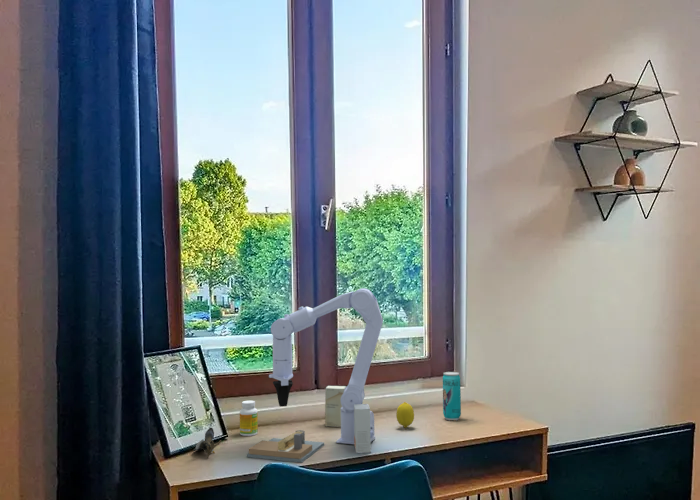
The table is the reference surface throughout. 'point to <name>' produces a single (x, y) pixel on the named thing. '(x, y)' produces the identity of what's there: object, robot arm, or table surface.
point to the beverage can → (451, 396)
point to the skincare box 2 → (362, 428)
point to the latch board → (292, 454)
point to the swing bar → (290, 440)
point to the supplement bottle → (248, 419)
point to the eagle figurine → (207, 442)
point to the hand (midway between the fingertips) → (283, 405)
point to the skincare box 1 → (333, 405)
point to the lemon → (405, 414)
